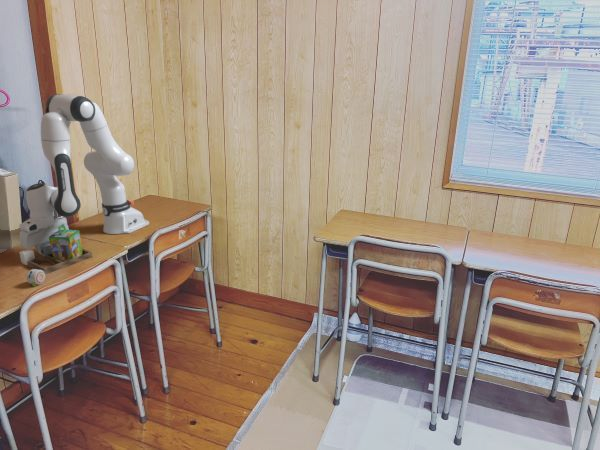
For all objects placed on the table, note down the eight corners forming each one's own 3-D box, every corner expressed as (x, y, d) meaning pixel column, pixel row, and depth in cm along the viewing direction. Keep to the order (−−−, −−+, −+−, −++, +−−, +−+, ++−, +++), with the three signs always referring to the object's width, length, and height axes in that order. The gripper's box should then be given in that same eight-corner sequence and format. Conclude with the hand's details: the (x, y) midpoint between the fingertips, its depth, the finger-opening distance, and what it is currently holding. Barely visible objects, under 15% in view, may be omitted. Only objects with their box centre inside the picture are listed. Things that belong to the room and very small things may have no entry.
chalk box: (73, 262, 209) (67, 230, 204) (52, 262, 210) (46, 229, 205) (84, 253, 218) (79, 222, 213) (64, 253, 219) (58, 221, 213)
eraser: (31, 259, 213) (28, 248, 212) (35, 261, 211) (33, 251, 209) (21, 262, 210) (19, 251, 209) (26, 265, 208) (23, 254, 206)
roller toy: (26, 286, 190) (23, 272, 188) (38, 279, 196) (35, 265, 194) (36, 287, 189) (33, 274, 187) (47, 280, 195) (45, 267, 193)
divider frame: (75, 249, 223) (74, 245, 222) (92, 257, 215) (91, 252, 215) (28, 265, 207) (27, 261, 206) (45, 274, 200) (44, 269, 199)
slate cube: (51, 251, 222) (49, 241, 220) (57, 254, 219) (55, 243, 217) (40, 255, 218) (38, 244, 216) (46, 257, 215) (44, 247, 213)
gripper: (61, 213, 223) (67, 241, 227) (15, 226, 207) (21, 256, 212) (69, 216, 219) (74, 245, 224) (22, 229, 204) (29, 260, 208)
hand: (48, 250), depth 218 cm, fingers open, 5 cm apart
